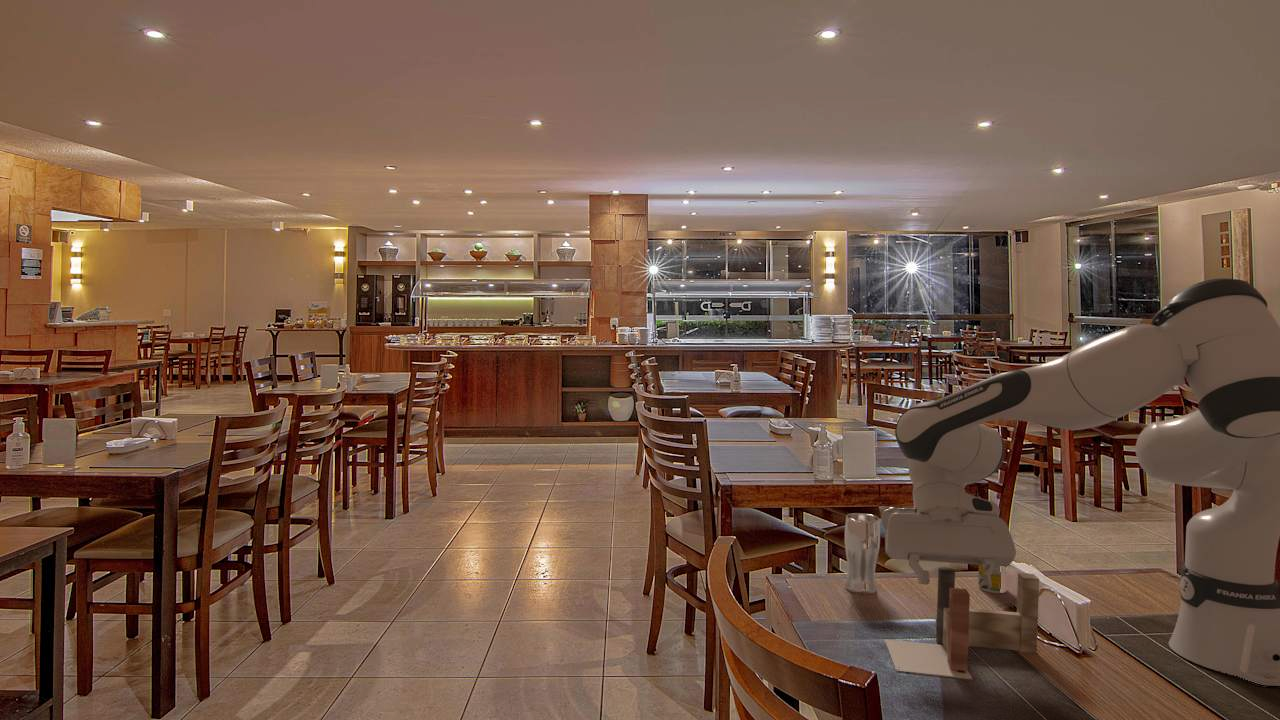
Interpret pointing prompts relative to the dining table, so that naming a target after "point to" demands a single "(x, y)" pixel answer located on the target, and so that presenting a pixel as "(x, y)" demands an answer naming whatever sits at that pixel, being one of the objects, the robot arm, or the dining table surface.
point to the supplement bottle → (992, 579)
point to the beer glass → (861, 551)
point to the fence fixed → (996, 617)
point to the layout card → (922, 659)
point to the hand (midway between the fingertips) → (955, 585)
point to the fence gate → (957, 628)
